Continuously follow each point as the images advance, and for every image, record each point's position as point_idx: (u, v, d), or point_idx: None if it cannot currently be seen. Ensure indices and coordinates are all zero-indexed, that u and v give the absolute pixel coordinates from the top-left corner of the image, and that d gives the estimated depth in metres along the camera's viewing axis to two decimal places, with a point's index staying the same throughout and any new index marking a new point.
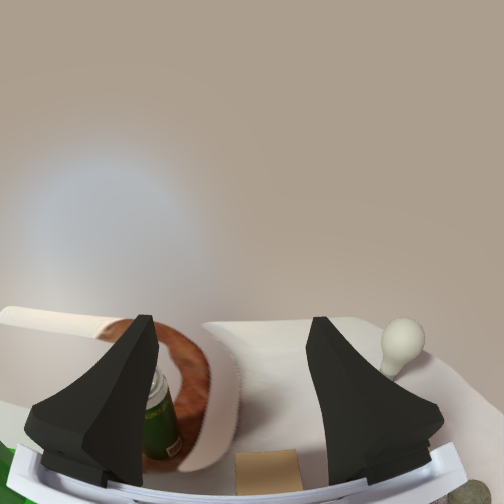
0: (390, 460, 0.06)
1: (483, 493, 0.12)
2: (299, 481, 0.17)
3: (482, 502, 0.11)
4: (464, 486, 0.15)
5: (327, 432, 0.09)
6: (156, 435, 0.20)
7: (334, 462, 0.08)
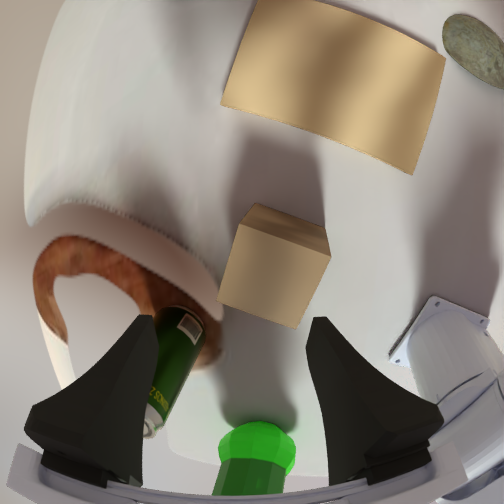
0: (389, 460, 0.06)
1: (489, 37, 0.10)
2: (299, 248, 0.16)
3: (501, 52, 0.10)
4: (458, 35, 0.11)
5: (327, 432, 0.09)
6: (182, 373, 0.20)
7: (334, 462, 0.08)
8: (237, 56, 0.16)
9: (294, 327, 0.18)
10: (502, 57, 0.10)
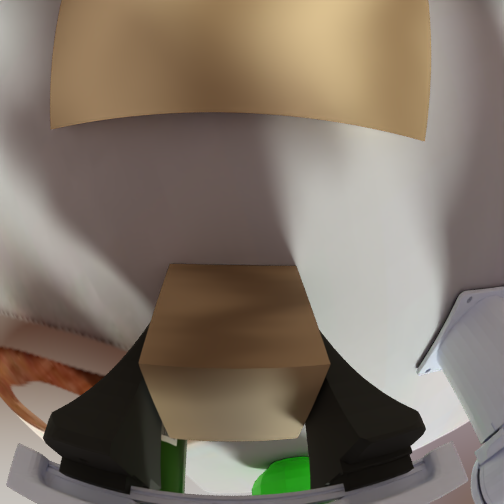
0: (367, 467, 0.06)
1: None
2: (265, 372, 0.07)
3: None
4: None
5: (308, 435, 0.09)
6: (176, 488, 0.12)
7: (314, 466, 0.08)
8: (56, 36, 0.06)
9: (294, 437, 0.10)
10: None
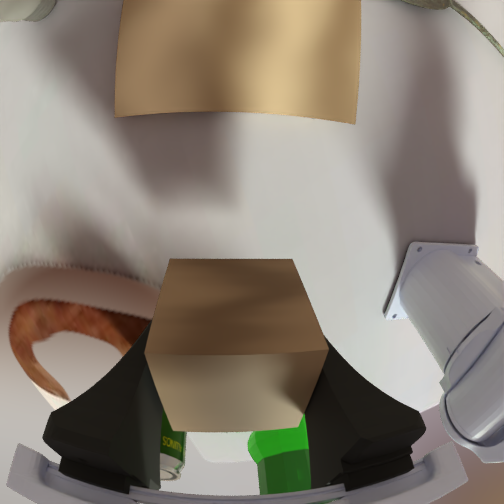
0: (368, 467, 0.06)
1: None
2: (267, 358, 0.08)
3: None
4: None
5: (309, 435, 0.09)
6: None
7: (315, 466, 0.08)
8: (117, 57, 0.12)
9: (295, 426, 0.11)
10: None
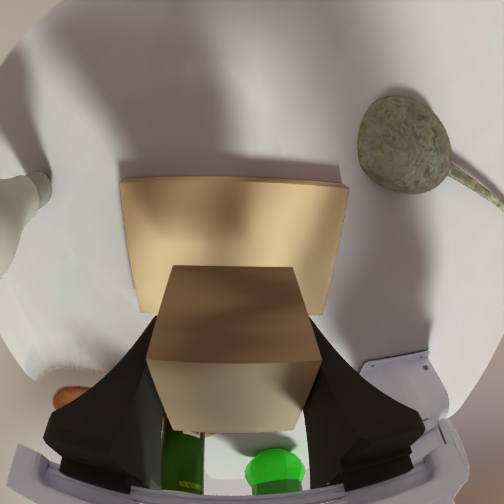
0: (367, 467, 0.06)
1: (421, 131, 0.14)
2: (262, 366, 0.08)
3: (434, 148, 0.14)
4: (378, 148, 0.15)
5: (308, 435, 0.09)
6: (200, 462, 0.25)
7: (314, 466, 0.08)
8: (132, 270, 0.18)
9: (290, 429, 0.11)
10: (436, 155, 0.14)
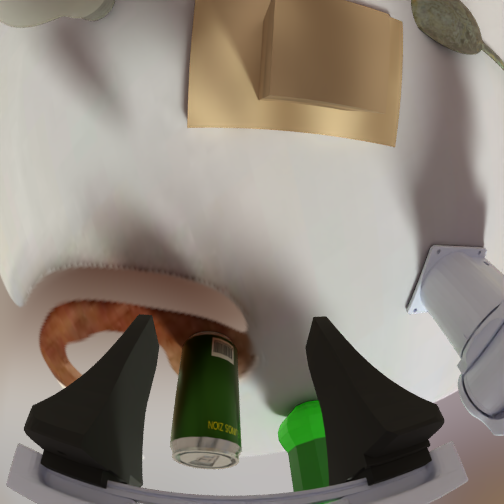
0: (389, 460, 0.06)
1: (456, 7, 0.10)
2: (354, 6, 0.08)
3: (468, 20, 0.10)
4: (428, 11, 0.11)
5: (326, 432, 0.09)
6: (236, 396, 0.20)
7: (334, 462, 0.08)
8: (190, 69, 0.14)
9: (383, 111, 0.11)
10: (471, 24, 0.10)
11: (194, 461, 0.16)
